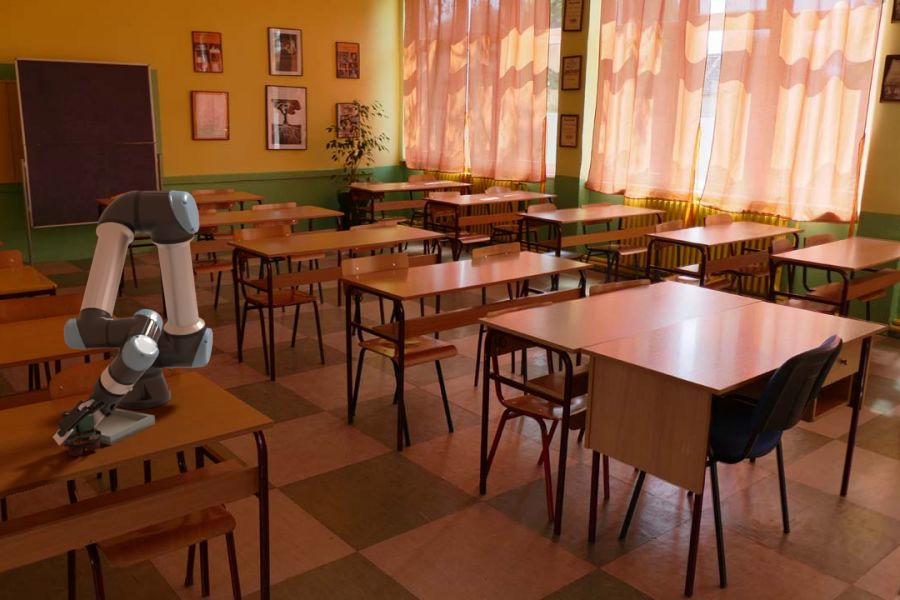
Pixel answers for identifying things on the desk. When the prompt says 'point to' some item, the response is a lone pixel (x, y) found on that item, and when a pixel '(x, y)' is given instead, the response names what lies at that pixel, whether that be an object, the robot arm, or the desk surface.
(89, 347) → the robot arm
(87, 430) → the binoculars
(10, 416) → the desk surface
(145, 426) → the tray
